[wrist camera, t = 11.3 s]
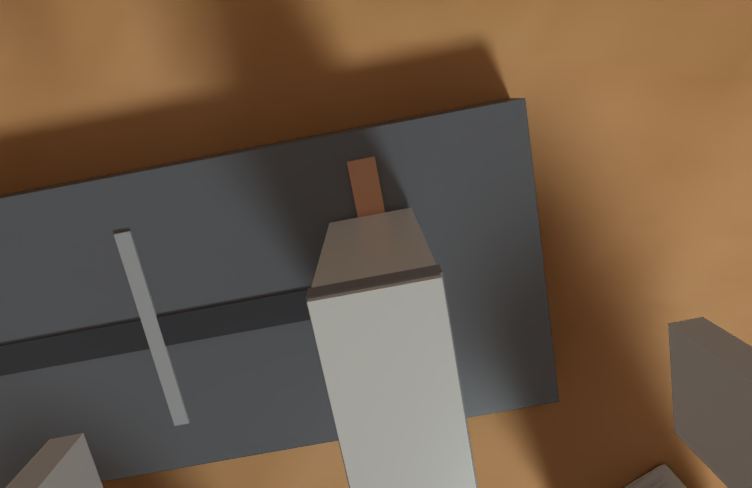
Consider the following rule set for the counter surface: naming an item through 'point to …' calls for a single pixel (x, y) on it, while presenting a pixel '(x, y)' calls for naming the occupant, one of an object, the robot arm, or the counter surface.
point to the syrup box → (658, 479)
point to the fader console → (255, 289)
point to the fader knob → (389, 356)
